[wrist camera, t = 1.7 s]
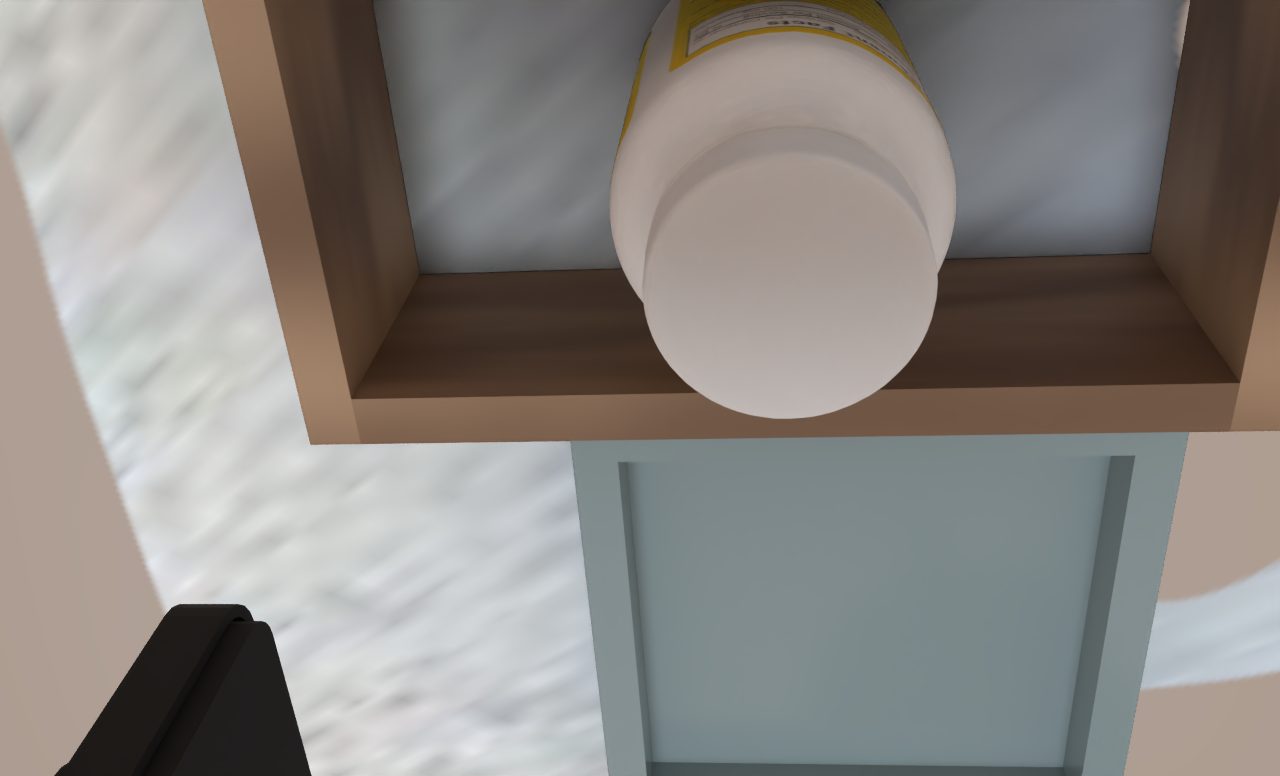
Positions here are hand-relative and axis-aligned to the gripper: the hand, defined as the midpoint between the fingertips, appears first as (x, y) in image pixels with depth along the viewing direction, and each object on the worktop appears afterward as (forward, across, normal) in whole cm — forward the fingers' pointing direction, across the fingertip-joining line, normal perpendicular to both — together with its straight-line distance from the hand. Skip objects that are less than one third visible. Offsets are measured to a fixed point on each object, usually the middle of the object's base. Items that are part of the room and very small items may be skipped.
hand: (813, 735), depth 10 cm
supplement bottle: (+17, 0, -1) cm, 17 cm away
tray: (+17, -2, +12) cm, 21 cm away
